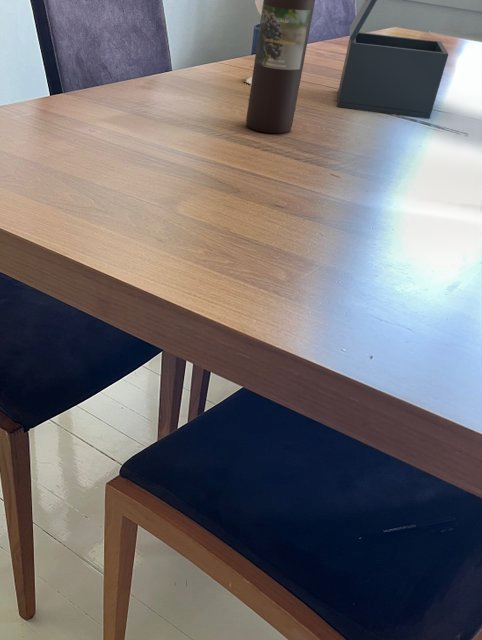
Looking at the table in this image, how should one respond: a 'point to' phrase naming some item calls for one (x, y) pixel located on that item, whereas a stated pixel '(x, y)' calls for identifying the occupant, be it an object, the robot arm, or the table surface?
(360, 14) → the lid
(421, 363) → the table surface
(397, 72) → the cool box
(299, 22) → the wine bottle
